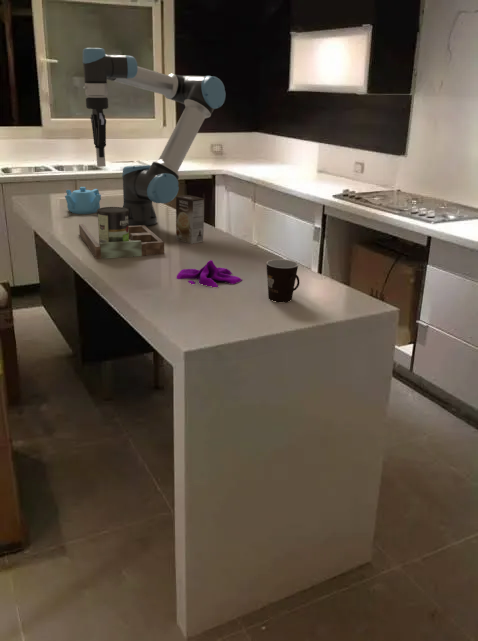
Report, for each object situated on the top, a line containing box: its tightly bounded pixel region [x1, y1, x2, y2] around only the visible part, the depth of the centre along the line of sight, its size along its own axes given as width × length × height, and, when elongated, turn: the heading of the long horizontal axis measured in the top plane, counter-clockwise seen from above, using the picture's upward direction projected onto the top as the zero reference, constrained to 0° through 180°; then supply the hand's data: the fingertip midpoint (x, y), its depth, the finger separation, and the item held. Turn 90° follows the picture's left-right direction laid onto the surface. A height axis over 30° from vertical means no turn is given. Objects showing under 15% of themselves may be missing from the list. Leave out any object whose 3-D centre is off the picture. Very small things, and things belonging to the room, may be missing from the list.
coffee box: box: [175, 194, 205, 245], centre depth 227 cm, size 9×6×16 cm
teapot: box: [64, 186, 102, 215], centre depth 271 cm, size 15×15×11 cm
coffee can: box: [96, 206, 130, 245], centre depth 210 cm, size 10×10×14 cm
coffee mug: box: [265, 258, 300, 303], centre depth 167 cm, size 12×9×10 cm
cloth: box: [176, 259, 243, 288], centre depth 184 cm, size 22×19×6 cm
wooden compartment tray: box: [78, 223, 165, 260], centre depth 220 cm, size 23×36×5 cm, turn 22°
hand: (101, 166), depth 222 cm, fingers closed
